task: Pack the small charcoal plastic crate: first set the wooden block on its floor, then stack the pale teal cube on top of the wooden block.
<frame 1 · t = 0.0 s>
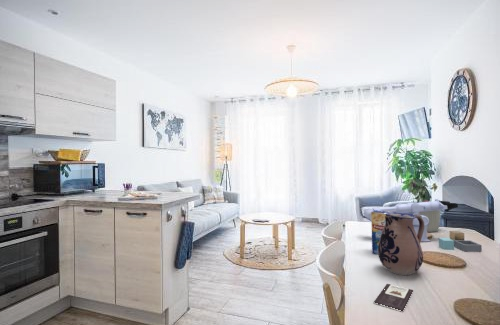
hand: (453, 204, 164), 22 cm above the table, tool horizontal, fingers open, 7 cm apart
canister: (426, 230, 189), on the table
pale teal cube: (446, 248, 150), on the table
beverage box: (385, 254, 143), on the table
wooden block: (457, 244, 157), on the table
crate: (467, 249, 148), on the table
ceramic pitcher: (403, 271, 121), on the table
chocolate bar: (394, 298, 98), on the table
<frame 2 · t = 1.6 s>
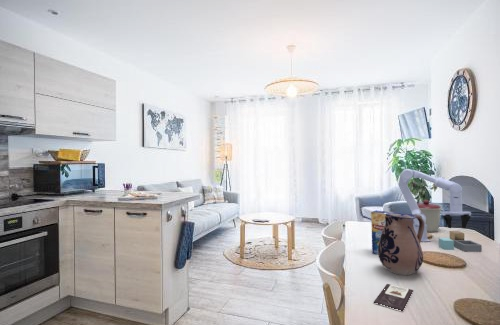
hand: (456, 227, 157), 9 cm above the table, tool pointing down, fingers open, 7 cm apart
nothing on the table moved.
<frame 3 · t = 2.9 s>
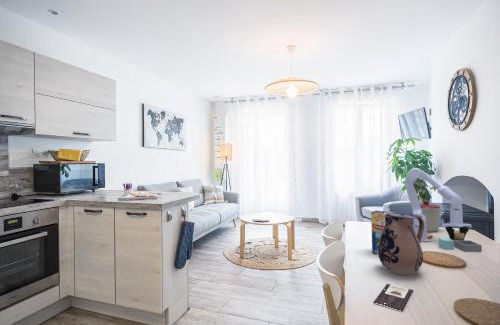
hand: (456, 239, 157), 2 cm above the table, tool pointing down, fingers closed on wooden block, 5 cm apart
wooden block: (457, 244, 157), on the table, touching gripper
everything else where it was.
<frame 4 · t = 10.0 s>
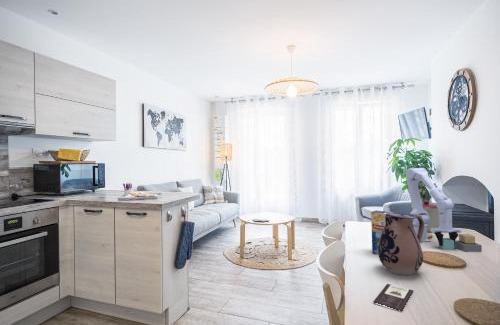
hand: (446, 245, 150), 1 cm above the table, tool pointing down, fingers closed on pale teal cube, 5 cm apart
pale teal cube: (446, 248, 150), on the table, touching gripper
wooden block: (467, 248, 148), resting on crate
everything else where it was.
when the fingers open (10 cm above the table, at t = 12.7 s): pale teal cube stays where it is, resting on wooden block.
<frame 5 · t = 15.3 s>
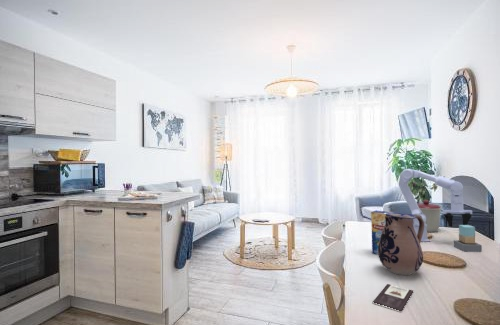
hand: (457, 226, 156), 10 cm above the table, tool pointing down, fingers open, 7 cm apart
pale teal cube: (467, 235, 148), point 7 cm above the table, touching wooden block
wooden block: (467, 248, 148), resting on crate, touching pale teal cube
everything else where it was.
at the end: wooden block 0.2 cm off-centre on the crate, point 0.5 cm above the crate's base; pale teal cube 0.1 cm off-centre on the crate, point 7.5 cm above the crate's base; pale teal cube tilted 0° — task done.
